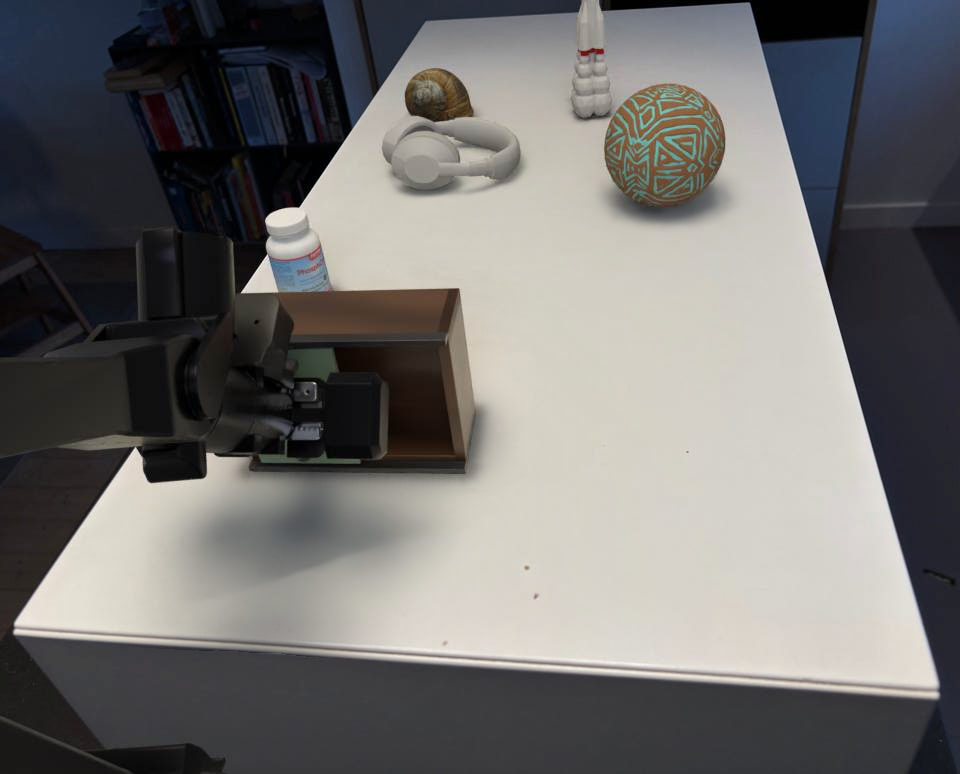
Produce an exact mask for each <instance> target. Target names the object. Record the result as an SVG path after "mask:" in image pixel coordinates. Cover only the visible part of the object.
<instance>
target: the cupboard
mask: <svg viewBox="0 0 960 774" xmlns="http://www.w3.org/2000/svg"><path fill="white" fill-rule="evenodd" d="M460 289H461V288H459V287H450V288H409V289H407V288H406V289H403V288H402V289H364V290H360V289H358V290H332V291H314V292H278V291H277V292H274V291H273V292H271V293H272V294H275V295H276V296H277V297H278V298H279V300H280V301H281V303H282V304H283V306H284V307H285V309H286V310H287V312H288V313H289V315H290V316H291V318H292V319H293V321H294V329H293V332H292V334H291V339H290V344H289V348H323V347H333V350H334V354H335V358H336V362H337V366H338V370H339V372H376V373H378V374H380V375H382V376H383V377H384V378H385V379H386V380H387V381H388V382H389V408H388V449H387V453H386V454H385V455H384V456H383V457H382V458H381V459H380V460H363V459H362V460H361V463H360V464H334V463H262V462H261V460H260V457H259V455H251V456H250V457H251V461H250V463H249V465H248V470H249V472H302V473H303V472H309V473H311V472H312V473H313V472H314V473H320V472H321V473H400V474H402V473H403V474H404V473H405V474H407V473H409V474H410V473H411V474H466V471H467V467H468V460H469V454H470V448H471V443H472V438H473V432H474V426H475V421H476V414H477V410H476V404H475V403H476V402H475V395H474V388H473V387H474V386H473V380H472V373H471V365H470V358H469V349H468V343H467V333H466V327H465V320H464V312H463V304H462V296H461V290H460ZM246 293H247V292H237V293H236V294H246Z"/></svg>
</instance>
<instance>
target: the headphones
mask: <svg viewBox="0 0 960 774" xmlns="http://www.w3.org/2000/svg"><path fill="white" fill-rule="evenodd" d="M450 138H454V141H458V142H460V143H465V144H468V145H469V144H470V145H472V146H473V145H474V146H479V147H480V146H481V147H485V148H488V149H490V150H494V151H497V153H493V154H492V155H490V156H489V157H487V158H484V159H480V160H476V161H470V162H467V163H466V162H465V163H462V162H461V155H460V151H459V149H458V147H457V146H456V144H455V142H453V141H452V140H451V139H450ZM381 152H382V155H383V156H382V157H383V158H384V159H385V161H386V162H387V163H388V164H389V165H390V166H391V167H392V171H393V172H394V175H396V177H397V179H399V181H401V182H402V183H403V184H405V185H407V186H408V187H411V188H413V189H418V190H423V191H427V190H428V191H429V190H436V189H439V188H442V187H444V186H446V185H448V184H449V183H450V182H452V181H453V180H454V179H455V177H485V178H489V179H490V180H504V179H506V178H507V177H509V176H510V175H512V174H513V173H514V172H515V170H516V169H517V167H518V166H519V164H520V161H521V157H522V156H521V155H522V154H521V153H522V151H521V146H520V141H519V139H518V137H517V136H516V134H515V133H514V132H513V131H511V130H510V129H509V128H508V127H506V126H503V125H501V124H500V123H498V122H496V121H491V120H487V119H484V118H479V117H474V116H470V117H461V118H455V120H449V121H440V122H438V121H436V122H433V121H430V120H428V119H426V118H423V117H419V116H411V115H407V116H403V117H400V118H399V119H396V121H395V122H394V123H392V124H391V125H390V126H389V128H387V130H386V132H385V134H384V136H383V139H382V143H381Z"/></svg>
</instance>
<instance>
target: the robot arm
mask: <svg viewBox="0 0 960 774" xmlns="http://www.w3.org/2000/svg"><path fill="white" fill-rule="evenodd" d="M141 236H142V237H141V238H139V239H138V240H137V241H136V243H135V256H136V257H135V258H136V285H137V287H136V288H137V290H136V291H137V317H138V318H137V320H133V321H132V320H131V321H122V322H121V321H120V322H111V323H110V322H109V323H101V324H100V323H99V324H98V325H97V327H95V328H94V329H93V330H92V332H91V333H90V334H89V335H88V336H87V337H86V339H84V340H83V341H82V342H78V343H77V342H76V343H73V344H70V345H67V346H65V347H61V348H58V349H55V350H52V351H49V352H46V353H45V355H43V356H37V357H36V356H35V357H28V356H27V357H26V356H25V357H0V459H4V458H9V457H13V456H18V455H24V454H27V453H28V454H29V453H34V452H37V451H42V450H47V449H53V448H60V449H67V450H79V451H99V450H111V449H120V448H121V449H123V448H133V447H135V449H136V451H137V452H138V453H139V455H140V457H141V458H142V472H143V474H144V476H145V479H146V481H147V482H148V483H149V484H161V483H170V482H171V483H172V482H183V481H193V480H203V479H205V478H206V477H207V475H208V460H207V459H208V457H207V454H213V455H214V456H216V457H218V458H249V457H252V456H251V455H285V440H287V458H319V457H321V456H322V455H324V453H326V456H327V459H363V460H380V459H381V458H382V457H383V456H384V455H385V454H386V453H387V449H388V408H389V382H388V381H387V380H386V379H385V378H384V377H383V376H382V375H380V374H378V373H376V372H330V374H329V376H328V379H327V381H326V382H325V381H324V380H323V379H322V378H318V377H311V378H294V371H292V370H289V369H286V359H287V355H288V349H289V344H290V339H291V334H292V332H293V329H294V321H293V319H292V318H291V316H290V315H289V313H288V312H287V310H286V309H285V307H284V306H283V304H282V303H281V301H280V300H279V298H278V297H277V296H276V295H275V294H272V292H245V293H246V294H237V293H236V282H235V281H236V279H235V260H234V258H235V257H234V243H233V241H232V239H231V238H230V237H228V236H226V235H215V234H211V233H206V232H205V233H204V232H199V231H182V230H180V229H179V228H177V227H176V226H165V227H156V228H155V227H154V228H145V229H143V230H142V232H141ZM225 766H226V757H225V756H222V757H221V756H220V757H211V756H210V754H208V753H207V751H206V750H205V749H204V748H203V747H201V746H199V745H196V744H194V743H191V742H185V743H183V742H182V743H169V744H157V745H155V744H154V745H141V746H129V747H128V746H126V747H113V748H102V749H101V748H100V749H99V748H97V749H85V750H81V749H79V748H76V747H74V746H72V745H70V744H67V743H65V742H62V741H61V740H58V739H56V738H53V737H51V736H49V735H46V734H44V733H42V732H39V731H37V730H34V729H32V728H30V727H27V726H26V725H23V724H21V723H18V722H16V721H14V720H12V719H9V718H7V717H4V716H2V715H0V774H227V772H223V771H224V768H225Z"/></svg>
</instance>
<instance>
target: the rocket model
mask: <svg viewBox="0 0 960 774" xmlns="http://www.w3.org/2000/svg"><path fill="white" fill-rule="evenodd" d="M575 28H576V29H575V42H574V43H575V46H576V47H577V51H576V55H575V57H576V60H575V62H574V67H573V68H574V71H575V72H574V74H573V75H572V80H571V84H572V89H571V94H570V102H571V106H572V108H573V109H574V112H575V113H576V114H577V115H578V116H579V117H580V118H582V119H586V118H590V117H591V116H592V115H595V116H597V117H601V116H605V115H606V114H608V112H609V111H610V110H611V107H612V104H613V103H612V102H613V97H612V94H611V91H610V89H611V88H610V87H611V81H610V76H609V75H608V74H607V73H608V65H607V63H606V61H605V60H606V56H605V48H607V37H606V36H607V34H606V25H605V17H604V15H603V12H602V9H601V6H600V0H581V4H580V7H579V10H578V13H577V17H576V27H575Z"/></svg>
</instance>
